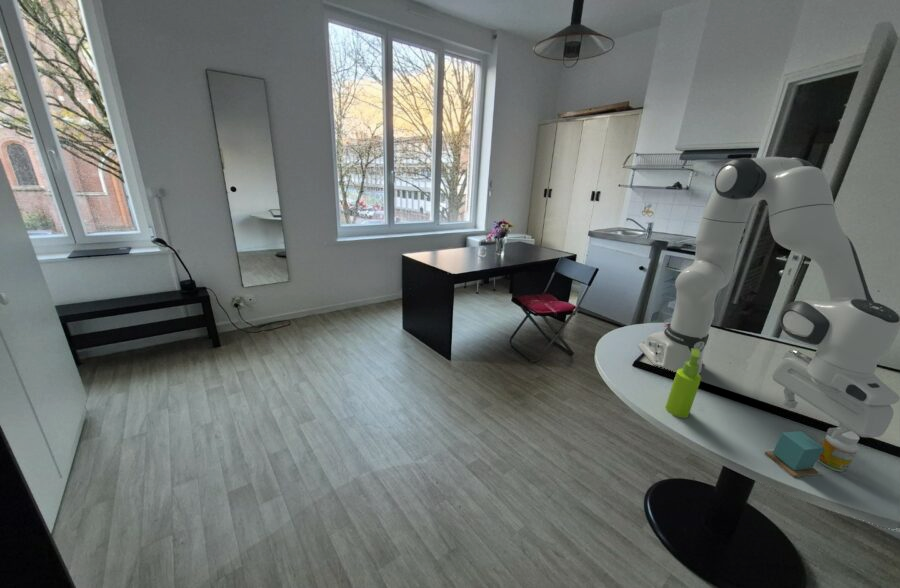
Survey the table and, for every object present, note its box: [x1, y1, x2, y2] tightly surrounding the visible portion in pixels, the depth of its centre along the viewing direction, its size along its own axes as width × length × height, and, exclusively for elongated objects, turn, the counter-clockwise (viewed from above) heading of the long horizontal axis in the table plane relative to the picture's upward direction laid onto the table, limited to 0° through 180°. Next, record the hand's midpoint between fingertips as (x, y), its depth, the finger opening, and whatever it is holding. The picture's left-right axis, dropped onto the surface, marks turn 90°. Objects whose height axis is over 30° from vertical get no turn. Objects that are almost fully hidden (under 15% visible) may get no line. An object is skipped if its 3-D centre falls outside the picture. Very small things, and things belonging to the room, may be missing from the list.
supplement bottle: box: [817, 426, 861, 472], centre depth 83 cm, size 5×5×10 cm
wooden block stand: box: [764, 450, 820, 478], centre depth 83 cm, size 7×7×7 cm
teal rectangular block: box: [772, 430, 824, 470], centre depth 83 cm, size 5×5×7 cm
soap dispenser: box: [665, 348, 702, 419], centre depth 98 cm, size 6×7×20 cm
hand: (809, 420), depth 80 cm, fingers open, 8 cm apart
